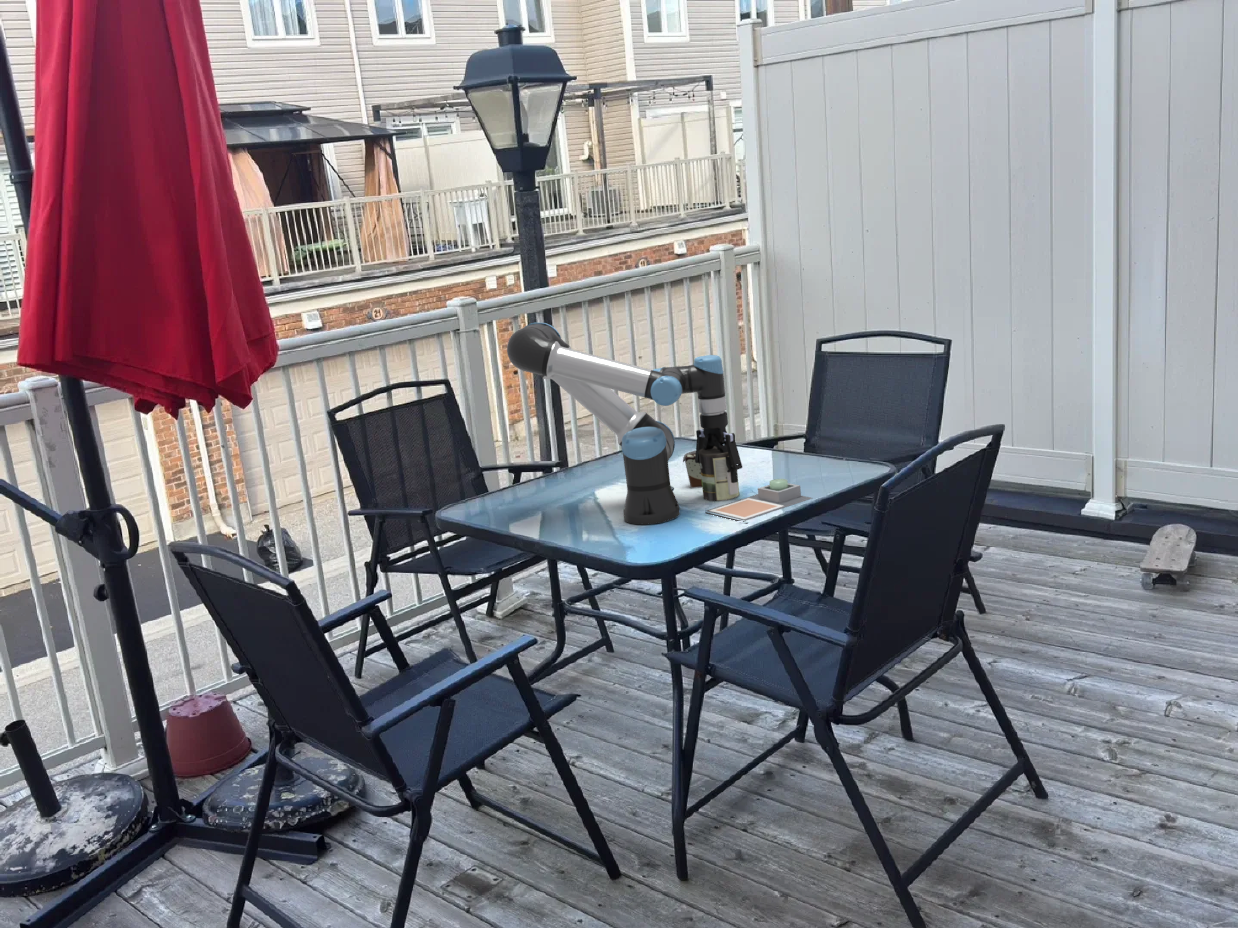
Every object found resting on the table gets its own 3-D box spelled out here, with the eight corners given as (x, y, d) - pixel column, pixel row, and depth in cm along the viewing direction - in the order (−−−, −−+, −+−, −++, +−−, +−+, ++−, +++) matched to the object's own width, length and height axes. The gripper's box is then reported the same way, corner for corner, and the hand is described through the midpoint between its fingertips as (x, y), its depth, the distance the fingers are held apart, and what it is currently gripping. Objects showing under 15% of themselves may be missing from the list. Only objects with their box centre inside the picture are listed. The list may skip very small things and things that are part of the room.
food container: (728, 479, 321) (724, 446, 319) (728, 485, 315) (724, 451, 313) (686, 483, 323) (683, 450, 320) (685, 488, 317) (682, 455, 314)
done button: (779, 496, 289) (778, 484, 289) (766, 494, 293) (765, 482, 292) (792, 492, 292) (791, 480, 291) (779, 490, 296) (778, 477, 295)
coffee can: (699, 504, 299) (693, 454, 296) (708, 494, 308) (703, 445, 305) (735, 503, 295) (730, 453, 292) (744, 493, 304) (739, 444, 301)
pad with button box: (745, 523, 276) (744, 509, 275) (705, 513, 289) (704, 499, 288) (813, 500, 289) (812, 487, 288) (771, 492, 302) (770, 479, 301)
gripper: (751, 413, 289) (758, 493, 294) (697, 406, 307) (705, 482, 312) (729, 418, 285) (737, 500, 290) (676, 411, 303) (685, 488, 308)
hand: (720, 490), depth 301 cm, fingers closed on coffee can, 10 cm apart
